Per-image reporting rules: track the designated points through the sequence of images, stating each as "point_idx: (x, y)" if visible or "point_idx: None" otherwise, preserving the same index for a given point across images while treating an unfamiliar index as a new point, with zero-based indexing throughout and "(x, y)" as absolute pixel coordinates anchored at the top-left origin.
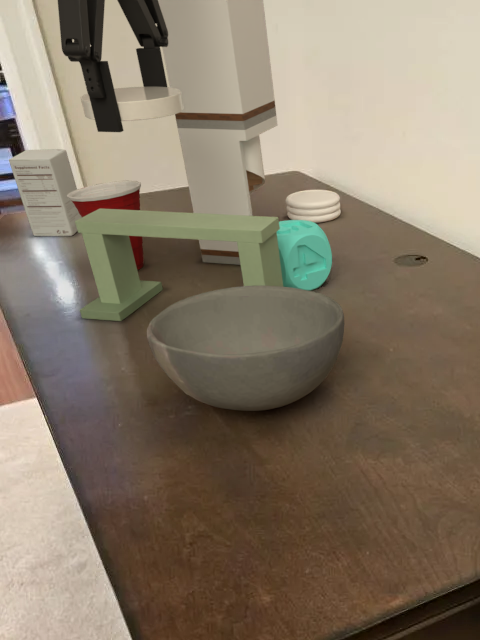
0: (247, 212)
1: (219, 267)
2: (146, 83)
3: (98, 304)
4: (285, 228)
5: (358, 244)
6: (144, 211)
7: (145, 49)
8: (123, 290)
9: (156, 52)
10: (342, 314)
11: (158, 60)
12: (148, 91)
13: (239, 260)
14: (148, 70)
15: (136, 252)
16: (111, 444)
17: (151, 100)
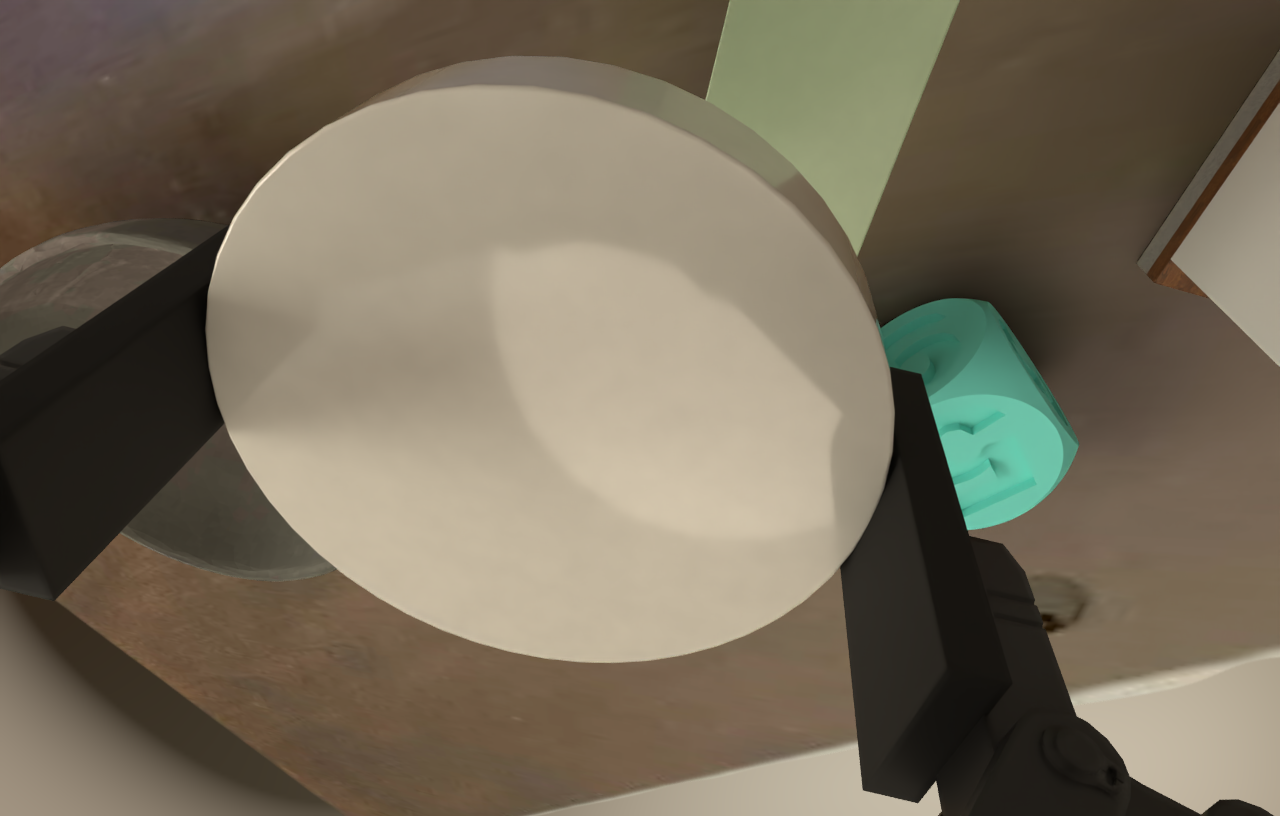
0: (1242, 318)
1: (1197, 103)
2: (889, 495)
3: None
4: (964, 451)
5: (1248, 509)
6: (939, 7)
7: (908, 722)
8: None
9: (863, 758)
10: (266, 580)
11: (858, 709)
12: (643, 521)
13: (1200, 184)
14: (889, 586)
15: None
16: (35, 86)
17: (342, 571)
